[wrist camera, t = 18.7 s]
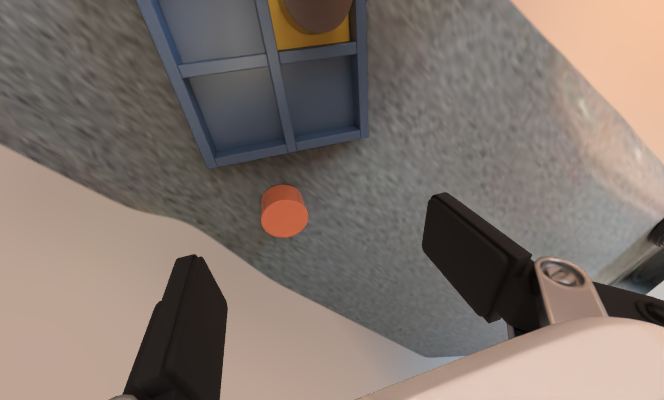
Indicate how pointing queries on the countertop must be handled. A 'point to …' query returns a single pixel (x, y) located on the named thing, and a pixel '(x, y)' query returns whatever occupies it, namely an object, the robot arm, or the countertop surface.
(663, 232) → the supplement container
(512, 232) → the countertop surface
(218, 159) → the grid
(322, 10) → the cylinder
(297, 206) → the cylinder
